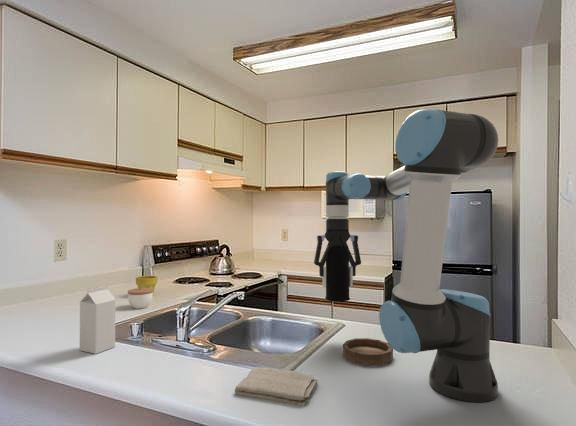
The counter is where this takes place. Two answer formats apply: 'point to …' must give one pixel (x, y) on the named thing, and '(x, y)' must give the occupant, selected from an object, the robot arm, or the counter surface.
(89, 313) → the milk carton
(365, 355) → the round tray
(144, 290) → the lidded jar
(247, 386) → the washcloth
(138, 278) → the plant pot
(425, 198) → the robot arm
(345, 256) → the aerosol can
